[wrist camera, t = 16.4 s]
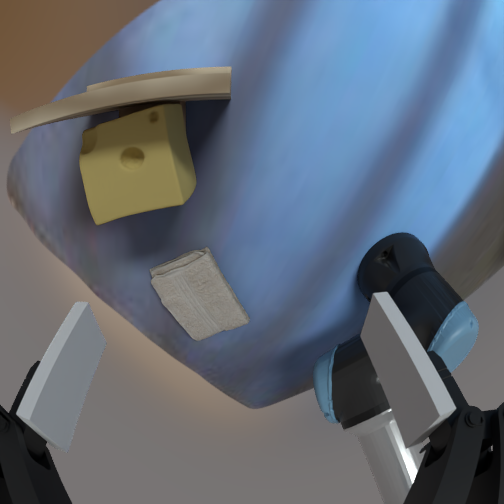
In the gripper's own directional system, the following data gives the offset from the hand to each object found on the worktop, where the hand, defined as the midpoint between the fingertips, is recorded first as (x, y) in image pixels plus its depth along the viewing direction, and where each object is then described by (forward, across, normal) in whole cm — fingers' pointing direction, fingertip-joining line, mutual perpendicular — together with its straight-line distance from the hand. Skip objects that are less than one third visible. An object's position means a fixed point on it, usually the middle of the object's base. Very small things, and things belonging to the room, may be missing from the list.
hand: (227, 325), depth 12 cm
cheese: (+25, +10, -5) cm, 28 cm away
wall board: (+29, +10, -7) cm, 32 cm away
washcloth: (+31, +7, +21) cm, 38 cm away
